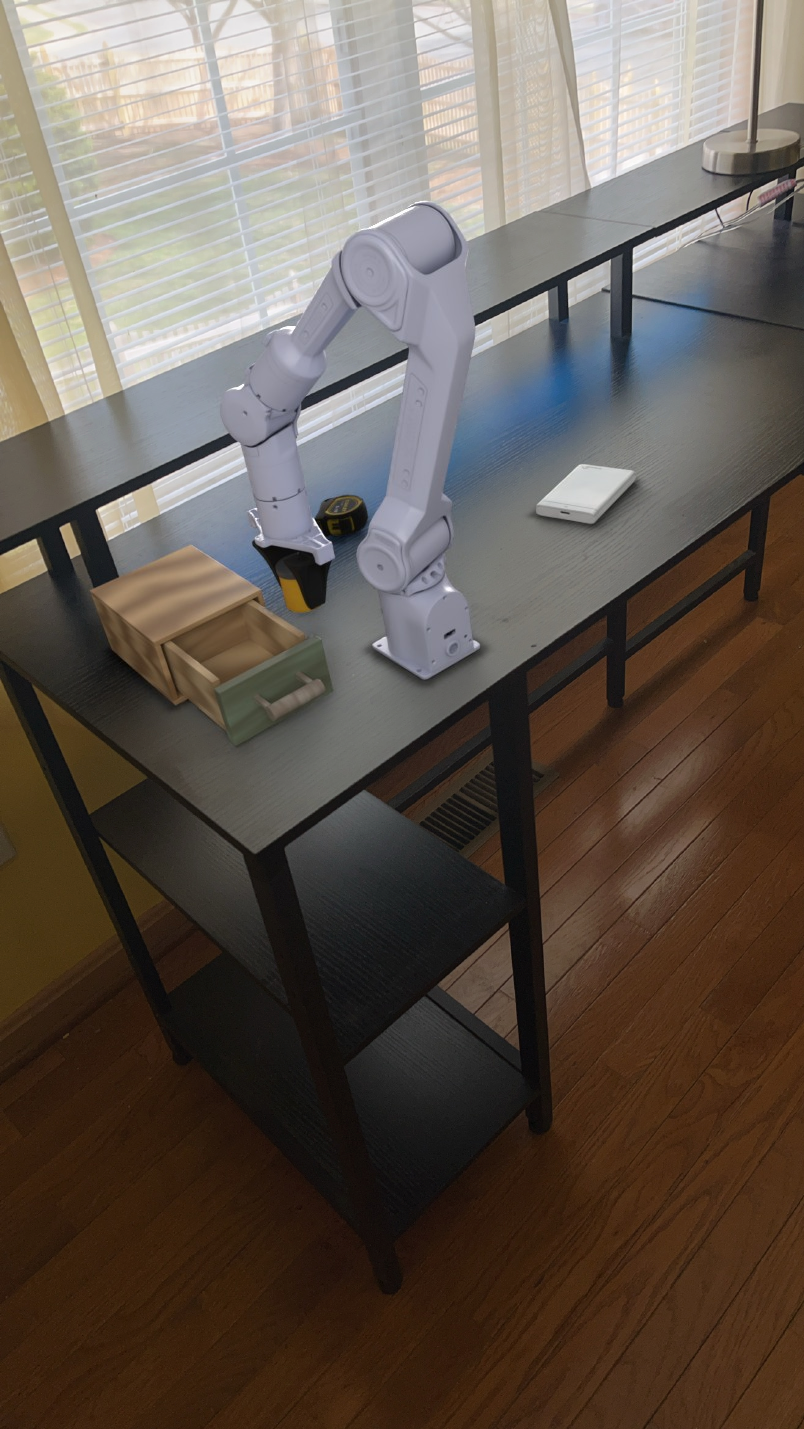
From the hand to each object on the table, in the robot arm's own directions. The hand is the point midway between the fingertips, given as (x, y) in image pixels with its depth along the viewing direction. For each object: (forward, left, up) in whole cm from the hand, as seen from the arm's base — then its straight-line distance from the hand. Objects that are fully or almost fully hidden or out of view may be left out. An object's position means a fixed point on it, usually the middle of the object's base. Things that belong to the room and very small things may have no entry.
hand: (304, 597), depth 119 cm
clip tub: (0, 0, -1) cm, 1 cm away
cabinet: (+5, +13, -3) cm, 14 cm away
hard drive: (-5, -41, -3) cm, 41 cm away
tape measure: (+15, -15, -3) cm, 21 cm away
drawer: (-10, +13, -2) cm, 16 cm away
